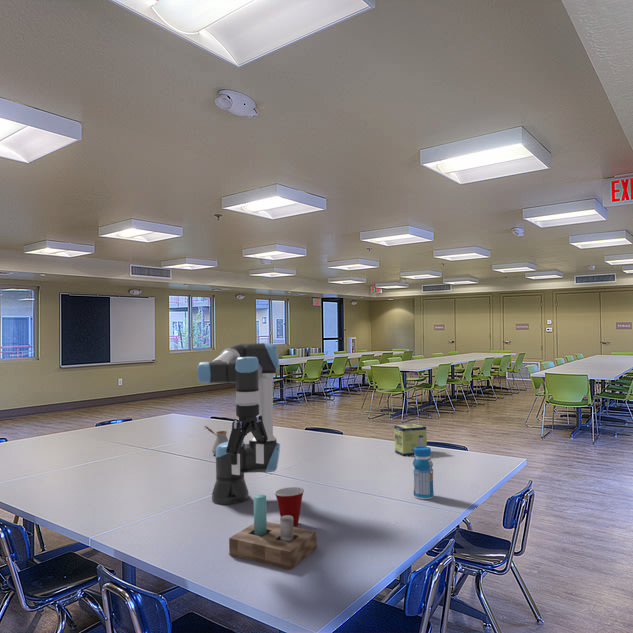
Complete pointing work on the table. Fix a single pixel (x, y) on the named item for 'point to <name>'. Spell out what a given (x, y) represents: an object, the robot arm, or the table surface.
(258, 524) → the teal peg
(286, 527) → the bore block
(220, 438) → the coffee pot
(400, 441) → the protein box
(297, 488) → the plastic cup
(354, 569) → the table surface
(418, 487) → the beverage bottle
